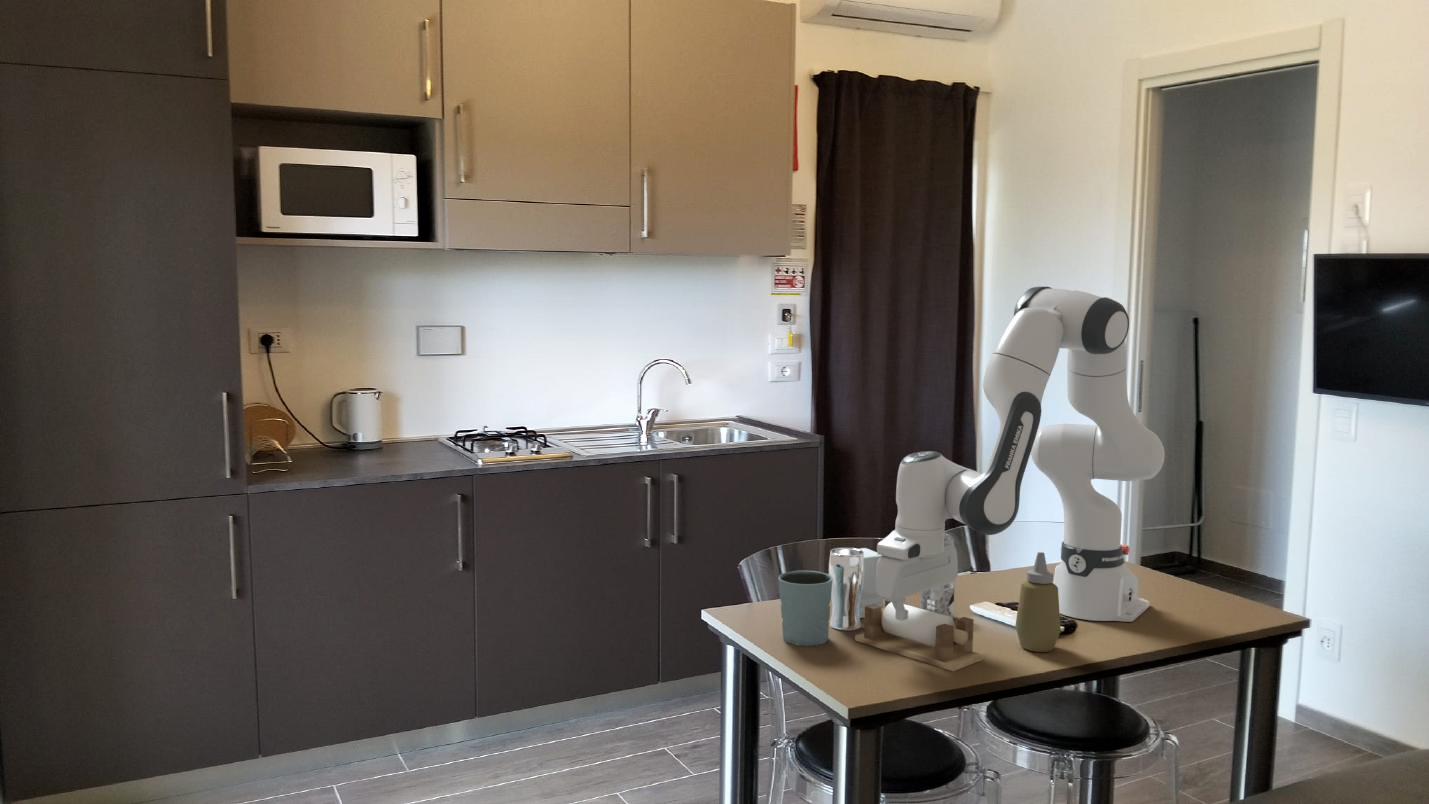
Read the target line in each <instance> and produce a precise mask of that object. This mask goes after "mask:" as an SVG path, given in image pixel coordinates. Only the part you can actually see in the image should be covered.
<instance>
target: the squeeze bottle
mask: <svg viewBox="0 0 1429 804" xmlns="http://www.w3.org/2000/svg"><path fill="white" fill-rule="evenodd" d="M1034 561H1035V562H1034V565H1033V569H1028V570H1027V571H1026V580H1025V581H1024V582H1022V583H1021V585H1020V592H1019V598H1018V606H1017V612H1016V619H1015V630H1016V634H1017V637H1018V641H1019V644H1020V647H1021V648H1022V649H1025V650H1028V651H1030V652H1040V653H1044V652H1047V653H1048V652H1052V651H1054V649H1055V646H1056V643H1057V641H1058V639H1059V637H1060V633H1061V628H1062V627H1061V613H1060V612H1059V596H1058V587H1057V586H1056V585H1055V584H1054V573H1053V572H1052V571H1051V570H1048V566H1047V561H1046V555H1045V552H1043V551H1038V552H1037V554H1036V557H1035V560H1034Z"/></svg>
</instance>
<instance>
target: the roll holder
mask: <svg viewBox="0 0 1429 804" xmlns="http://www.w3.org/2000/svg"><path fill="white" fill-rule="evenodd" d="M889 603H891V601H890V600H887V599H884V609H885V608H886V606H887V605H888V604H889ZM881 615H882V606H879V605H875V604H871V605H868V606H865V618H864V620H863V621H864V622H863V623H864V625H863V627H864V628H863V629H864V630H863V632H861V633H858V634H855V635H854V641H856V642H859V643H862V644H865V645H869V646H871V647H875V648H878V649H880V650H884V651H887V652H890V653H894V654H897V655H900V656H904V657H906V658H909V659H913V660H916V661H919V662H922V663H926V664H929V665H931V666H935V667H939V668H941V669H945V670H947V671H951V672H956V671H958V670H961V669H963V668H965V667H968V666H970V665H972V664H975V663H978V662H980V661H983V654H982V653H979V652H976V651H973V650H974V649H973V645H974V644H973V643H974V621H975V620H974V619H973V618H969V617H966V616H963V617H960V618H957V619H956V620H955V629H959V630H962V631H966V632H967V633H968V640H967V642H966V644H964V645H962V644H958V643H955V642H953V640H954V626H951V625H948V624H942V625H939V626H936V645H935V647H932V646H929V645H926V644H922V643H919V642H916V641H912V640H909V639H906V638H902V637H899V636H896V635H892V634H889V633H886V632H885V631H884V629H883V627H882V621H881Z"/></svg>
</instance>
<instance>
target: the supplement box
mask: <svg viewBox="0 0 1429 804" xmlns="http://www.w3.org/2000/svg"><path fill="white" fill-rule="evenodd" d="M858 549H859V550H862V551H863V552H864V571H865V573H864V584H863V590H862V595H861V599H860V605H859V616H860V619H863V618H864V619H865V606H868V605H871V604H875V605H879V606H882V608H883V609H884V599H883V598H880V597H879V595H878V593H877V590H876V571H877V563H878V560H879V558H880V557H881V556H882V555H880V554H878V553H877V551H875V550H872V549H869V548H867V547H861V548H858Z"/></svg>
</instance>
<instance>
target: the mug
mask: <svg viewBox="0 0 1429 804" xmlns="http://www.w3.org/2000/svg"><path fill="white" fill-rule="evenodd" d="M931 592H932V589H930V590H927V591H924V592H920V602H919V603H920V604H919V607H920V609H924V610H928V611H931V612H935V613H939V614H942V615H946V616H950V617H951V618H952V619H953V620H954V614H955V613H954V609H955V608H954V607H955V606H954V605H955V585H954V584H953V583H949V584H946V585H944V591H943V594H942V596H941V599H940V603H939V608H938V609H935V610H931V609H928V608H927V599H930V595H931Z"/></svg>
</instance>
